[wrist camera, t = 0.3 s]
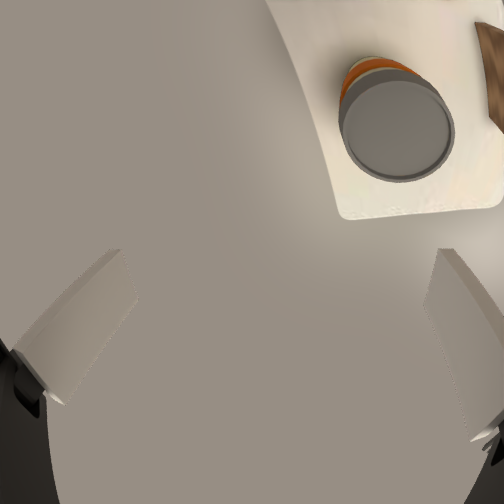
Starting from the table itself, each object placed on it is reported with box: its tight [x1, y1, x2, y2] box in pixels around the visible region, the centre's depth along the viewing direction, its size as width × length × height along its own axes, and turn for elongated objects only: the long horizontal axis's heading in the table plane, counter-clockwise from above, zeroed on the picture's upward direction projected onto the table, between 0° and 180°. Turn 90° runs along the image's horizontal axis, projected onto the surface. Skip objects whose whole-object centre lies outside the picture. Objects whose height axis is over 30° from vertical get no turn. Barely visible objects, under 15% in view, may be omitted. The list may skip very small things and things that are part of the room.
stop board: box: [475, 22, 504, 134], centre depth 18 cm, size 16×2×8 cm, turn 29°
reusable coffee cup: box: [338, 57, 455, 183], centre depth 26 cm, size 13×13×15 cm
